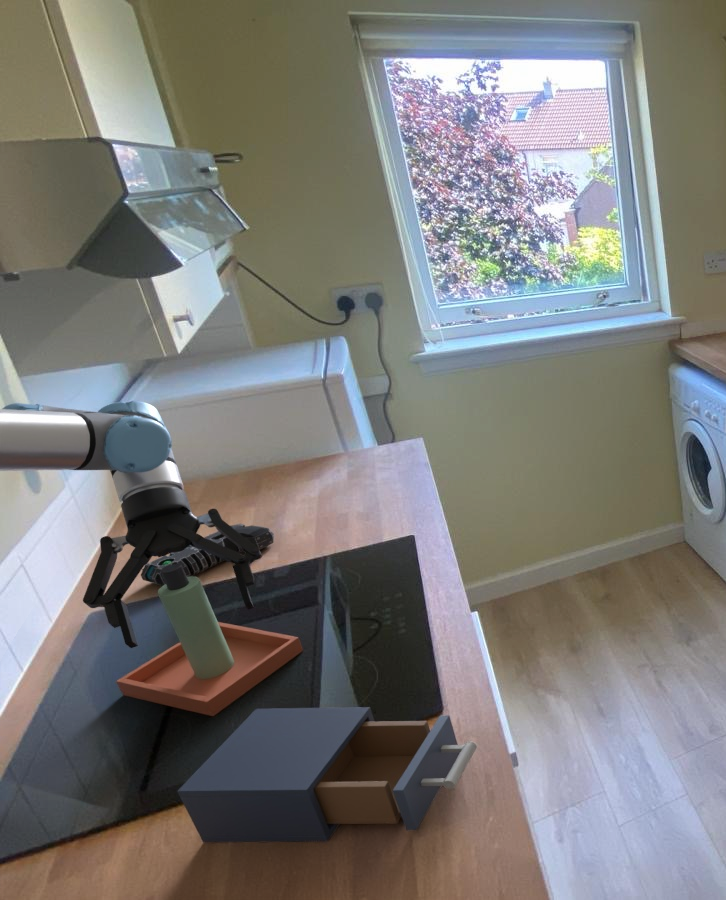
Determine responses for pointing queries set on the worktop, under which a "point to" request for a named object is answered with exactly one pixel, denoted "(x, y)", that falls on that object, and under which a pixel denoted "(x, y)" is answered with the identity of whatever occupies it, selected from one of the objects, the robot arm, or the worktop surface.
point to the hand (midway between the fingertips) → (192, 625)
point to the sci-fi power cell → (205, 553)
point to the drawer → (392, 772)
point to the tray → (180, 688)
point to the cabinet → (270, 776)
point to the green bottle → (194, 623)
